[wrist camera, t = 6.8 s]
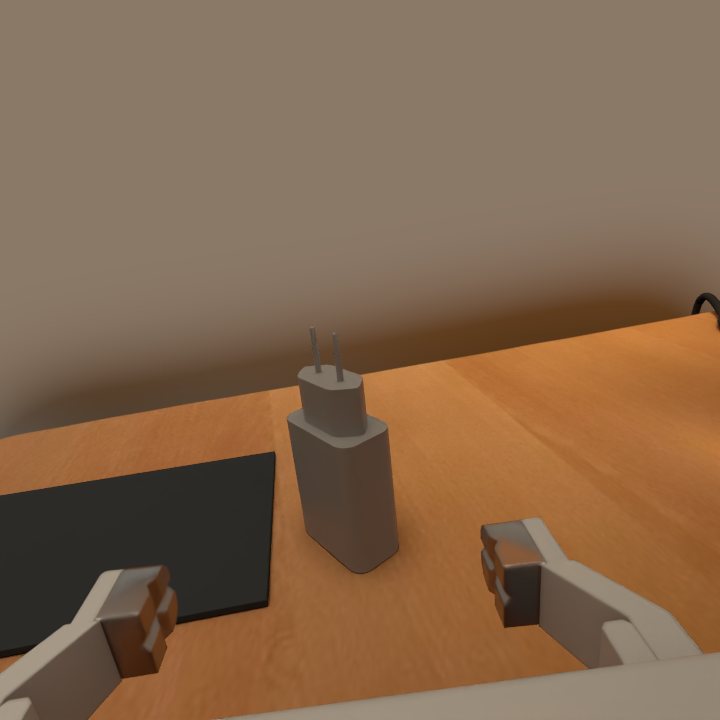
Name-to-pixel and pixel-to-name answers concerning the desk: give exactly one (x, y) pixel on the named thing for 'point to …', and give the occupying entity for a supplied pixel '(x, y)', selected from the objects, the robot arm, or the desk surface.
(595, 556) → the desk surface
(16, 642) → the desk mat
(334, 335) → the power adapter
